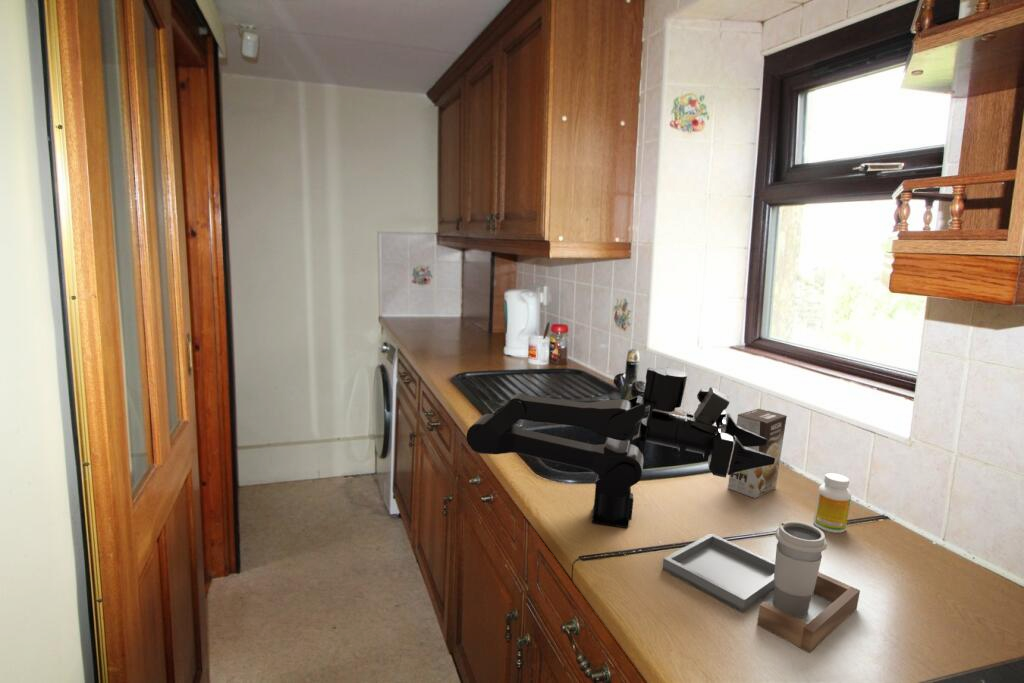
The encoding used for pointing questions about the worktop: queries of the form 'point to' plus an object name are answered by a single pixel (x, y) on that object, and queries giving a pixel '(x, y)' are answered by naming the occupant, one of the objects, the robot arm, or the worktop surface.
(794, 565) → the cup
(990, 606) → the worktop surface
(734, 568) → the tray
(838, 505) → the supplement bottle
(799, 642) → the cubby
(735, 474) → the coffee box
